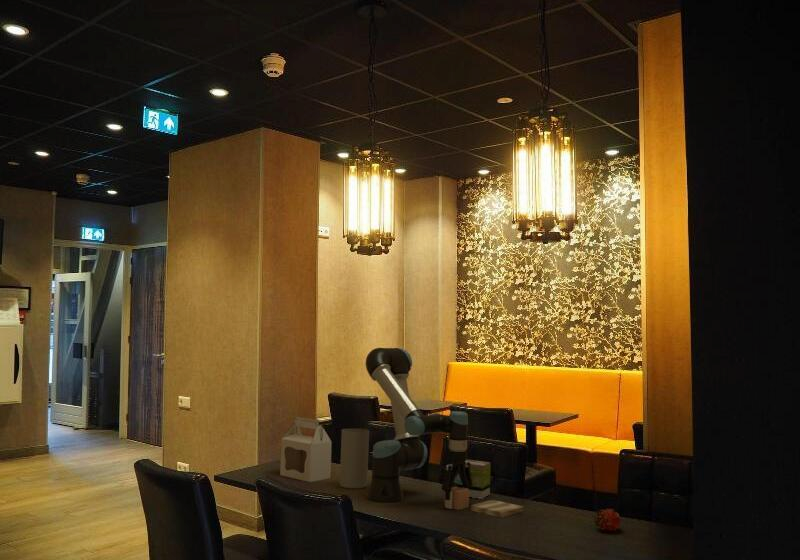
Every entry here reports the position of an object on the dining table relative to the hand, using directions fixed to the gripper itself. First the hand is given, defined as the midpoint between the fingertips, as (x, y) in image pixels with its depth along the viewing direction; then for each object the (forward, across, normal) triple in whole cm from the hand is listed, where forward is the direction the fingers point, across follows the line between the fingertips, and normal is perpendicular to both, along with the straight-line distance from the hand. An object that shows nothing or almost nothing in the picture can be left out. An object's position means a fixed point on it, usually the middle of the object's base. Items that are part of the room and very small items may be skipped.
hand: (456, 506), depth 273 cm
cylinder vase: (0, -6, +55) cm, 55 cm away
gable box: (0, -10, +85) cm, 86 cm away
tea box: (+1, +21, +9) cm, 23 cm away
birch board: (0, +7, -15) cm, 17 cm away
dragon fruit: (+1, +15, -58) cm, 60 cm away
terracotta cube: (0, 0, 0) cm, 0 cm away
